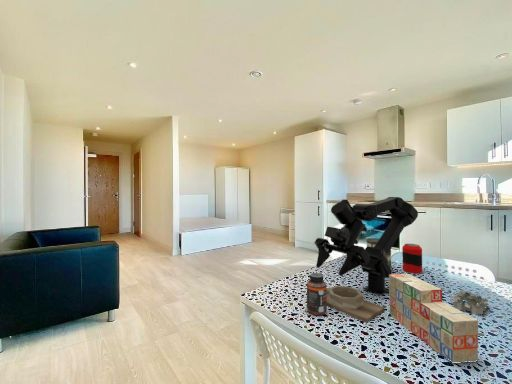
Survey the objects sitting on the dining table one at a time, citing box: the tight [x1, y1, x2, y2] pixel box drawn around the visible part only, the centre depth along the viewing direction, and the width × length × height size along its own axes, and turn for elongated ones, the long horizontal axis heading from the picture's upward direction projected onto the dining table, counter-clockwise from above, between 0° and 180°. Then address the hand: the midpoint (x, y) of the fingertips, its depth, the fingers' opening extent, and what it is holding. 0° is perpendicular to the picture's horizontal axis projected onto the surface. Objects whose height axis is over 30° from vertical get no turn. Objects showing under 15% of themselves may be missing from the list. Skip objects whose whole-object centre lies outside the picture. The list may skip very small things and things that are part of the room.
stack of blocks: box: [388, 273, 479, 362], centre depth 62 cm, size 21×6×12 cm, turn 5°
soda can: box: [401, 243, 423, 274], centre depth 111 cm, size 8×8×12 cm
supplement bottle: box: [306, 272, 328, 316], centre depth 75 cm, size 6×6×11 cm
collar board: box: [326, 285, 386, 323], centre depth 79 cm, size 11×20×4 cm, turn 38°
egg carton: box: [451, 289, 489, 316], centre depth 76 cm, size 11×8×4 cm
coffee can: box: [365, 237, 392, 269], centre depth 112 cm, size 10×10×14 cm
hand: (327, 270), depth 77 cm, fingers open, 9 cm apart
